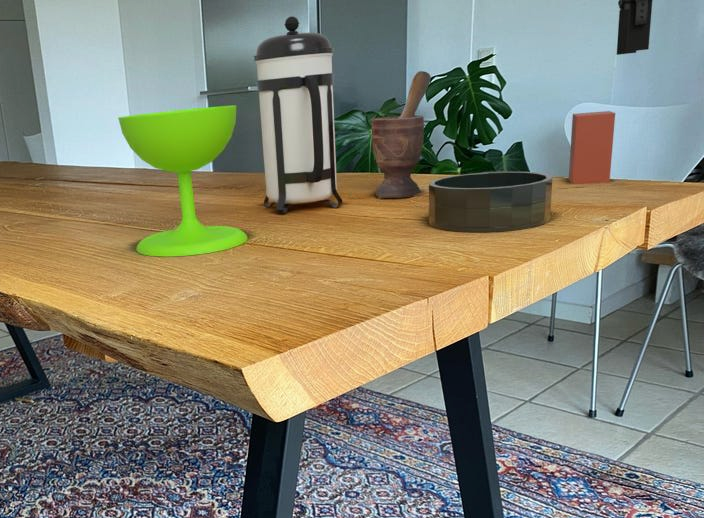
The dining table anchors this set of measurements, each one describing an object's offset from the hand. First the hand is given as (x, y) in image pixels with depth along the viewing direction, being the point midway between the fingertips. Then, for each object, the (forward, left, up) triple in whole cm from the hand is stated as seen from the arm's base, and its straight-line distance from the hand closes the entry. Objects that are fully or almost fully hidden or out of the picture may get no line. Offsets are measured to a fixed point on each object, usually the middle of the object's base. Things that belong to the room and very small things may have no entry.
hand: (631, 52), depth 111 cm
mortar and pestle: (+34, -1, -20) cm, 40 cm away
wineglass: (+60, +36, -20) cm, 73 cm away
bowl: (+20, +27, -20) cm, 39 cm away
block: (+4, -3, -20) cm, 20 cm away
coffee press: (+49, +9, -20) cm, 54 cm away
